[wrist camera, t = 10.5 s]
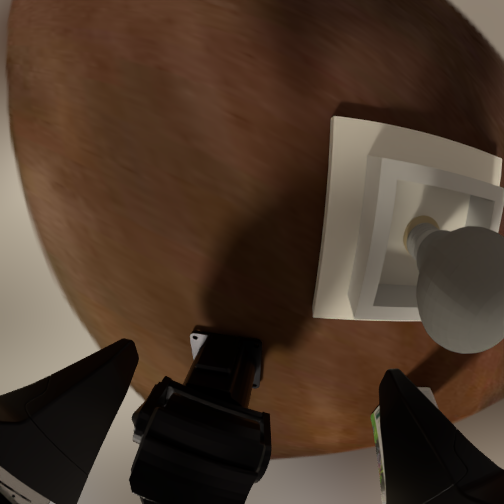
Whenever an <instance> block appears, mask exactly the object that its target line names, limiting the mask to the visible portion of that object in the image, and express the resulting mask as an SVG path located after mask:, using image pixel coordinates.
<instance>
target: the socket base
mask: <svg viewBox="0 0 504 504" xmlns="http://www.w3.org/2000/svg"><path fill="white" fill-rule="evenodd" d="M501 168H502V159H501V158H499V157H497V156H494V155H492V154H489V153H487V152H484V151H481V150H479V149H476V148H473V147H470V146H467V145H464V144H461V143H458V142H455V141H452V140H449V139H446V138H442V137H439V136H435V135H431V134H428V133H424V132H420V131H416V130H412V129H408V128H403V127H399V126H394V125H389V124H384V123H379V122H373V121H367V120H361V119H354V118H347V117H340V116H333V117H332V118H331V124H330V147H329V164H328V179H327V191H326V203H325V213H324V223H323V232H322V241H321V249H320V257H319V265H318V272H317V279H316V286H315V293H314V299H313V305H312V310H313V317H314V318H329V319H348V320H375V321H421V318H420V315H419V311H418V305H417V299H416V288H417V282H418V276H419V271H418V268H417V262H416V260H415V259H414V258H413V257H412V256H411V255H410V253H409V252H408V250H407V244H406V243H407V237H408V235H409V233H410V231H411V230H412V229H413V228H414V227H415V226H416V225H418V224H420V223H430V224H432V225H434V226H435V227H436V228H438V229H439V230H447V231H450V232H451V231H453V230H456V229H459V228H462V227H466V226H478V227H484V228H487V229H490V230H492V231H495V232H497V233H498V230H499V226H500V221H501V216H502V211H503V205H504V188H502V187H499V186H500V178H501Z"/></svg>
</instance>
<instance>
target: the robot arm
mask: <svg viewBox="0 0 504 504" xmlns="http://www.w3.org/2000/svg"><path fill="white" fill-rule="evenodd" d="M194 335H195V336H197V337H195V336H194ZM190 340H191V347H192V353H193V359H194V361H193V363H192V366H191V368H190V370H189V372H188V374H187V377H186V379H185V381H184V383H183V385H182V384H180V383H178V382H175V381H173V380H172V379H171V378H169V377H167V376H165V377H164V379H163V380H162V382H159V383H158V384H157V385H155V386H154V388H153V389H152V391H151V393H150V395H149V397H148V398H147V399H146V401H145V402H144V403H143V404H142V405H141V406H140V407H139V408H138V409H137V410H136V411H135V412H134V413H133V416H132V421H133V423H134V426H135V427H134V435H133V441H134V442H136V443H138V444H140V445H139V449H138V451H137V454H136V457H135V459H134V462H133V465H132V468H131V476H130V478H129V481H130V485H131V490H132V493H133V494H136V495H138V496H140V499H141V502H142V504H245V501H246V498H247V496H248V494H249V491H250V489H251V487H252V485H253V484H254V483H257V482H258V481H260V479H261V478H262V477H263V475H264V473H265V471H266V469H267V467H268V464H269V460H270V456H271V429H270V414H269V413H265V412H262V413H261V412H258V411H255V410H251V409H248V405H249V400H250V395H251V391H252V388H258V387H259V385H260V373H261V359H262V341H261V340H259V339H252V338H244V337H236V336H228V335H221V334H214V333H207V332H201V331H192V333H191V335H190ZM255 344H258V345H255ZM138 360H139V356H138V353H137V350H136V346H135V343H134V342H133V341H132V340H129V339H125V338H123V339H121V340H119V341H117V342H115V343H113V344H111V345H109V346H107V347H105V348H103V349H101V350H99V351H97V352H95V353H93V354H91V355H90V356H88V357H86V358H84V359H82V360H80V361H78V362H76V363H74V364H72V365H70V366H68V367H66V368H64V369H62V370H60V371H58V372H56V373H54V374H52V375H51V376H48V377H46V378H44V379H41V380H39V381H37V382H35V383H33V384H31V385H28V386H25V387H23V388H20V389H17V390H15V391H12V392H9V393H6V394H3V395H0V504H49V503H50V501H52V502H54V503H55V504H77V502H78V499H79V497H80V495H81V492H82V490H83V487H84V485H85V482H86V480H87V478H88V475H89V473H90V470H91V468H92V466H93V464H94V461H95V459H96V457H97V455H98V452H99V450H100V447H101V446H102V444H103V441H104V439H105V437H106V435H107V432H108V431H109V429H110V426H111V424H112V422H113V420H114V418H115V416H116V414H117V412H118V410H119V407H120V406H121V404H122V401H123V400H124V397H125V395H126V393H127V391H128V388H129V385H130V383H131V380H132V377H133V374H134V372H135V369H136V366H137V364H138ZM379 405H380V431H381V439H382V448H383V459H384V470H385V486H386V504H504V470H503V469H501V468H500V467H498V466H497V465H496V464H495V463H494V462H492V461H491V460H490V459H489V458H488V457H486V456H485V455H484V454H483V453H482V452H481V451H479V450H478V449H477V448H476V447H475V446H474V445H473V444H472V443H471V442H470V441H469V440H468V439H466V437H465V436H464V435H463V434H462V433H461V432H460V431H459V430H458V429H457V430H456V427H455V426H454V425H453V424H452V423H451V422H450V421H449V420H448V419H447V418H446V417H445V416H444V414H443V413H442V412H441V411H440V410H439V409H438V408H437V407H436V406H435V405H434V404H433V403H432V402H431V401H430V400H429V399H428V398H427V397H426V396H425V395H424V394H423V393H422V392H421V391H420V390H419V389H418V388H417V387H416V386H415V385H414V384H413V383H412V382H411V381H410V380H409V379H408V378H407V377H406V376H405V375H404V374H403V373H402V371H401V370H399V369H388V370H387V371H386V373H385V375H384V377H383V379H382V381H381V383H380V386H379Z"/></svg>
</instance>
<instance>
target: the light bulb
mask: <svg viewBox="0 0 504 504" xmlns="http://www.w3.org/2000/svg"><path fill="white" fill-rule="evenodd" d="M406 244H407V250H408V252H409V253H410V255H411V256H412V257H413V258H414V259H415V260H416V262H417V268H418V271H419V276H418V282H417V288H416V299H417V305H418V311H419V315H420V318H421V321H422V323H423V325H424V328H425V329H426V331H427V333H428V334H429V335H430V337H431V338H432V339H433V340H434V341H435V342H436V343H438V344H439V345H441V346H442V347H444V348H445V349H448V350H450V351H454V352H457V353H462V354H466V353H478V352H482V351H484V350H487V349H489V348H491V347H493V346H495V345H496V344H498V343H499V342H500V341H501V340H502V339H503V338H504V237H503V236H501V235H500V234H498V233H497V232H495V231H492V230H490V229H487V228H484V227H478V226H466V227H462V228H459V229H456V230H453V231H451V232H450V231H447V230H439V229H438V228H436V227H435V226H434V225H432V224H430V223H420V224H418V225H416V226H415V227H414V228H413V229H412V230H411V231H410V233H409V235H408V237H407V243H406Z"/></svg>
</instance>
